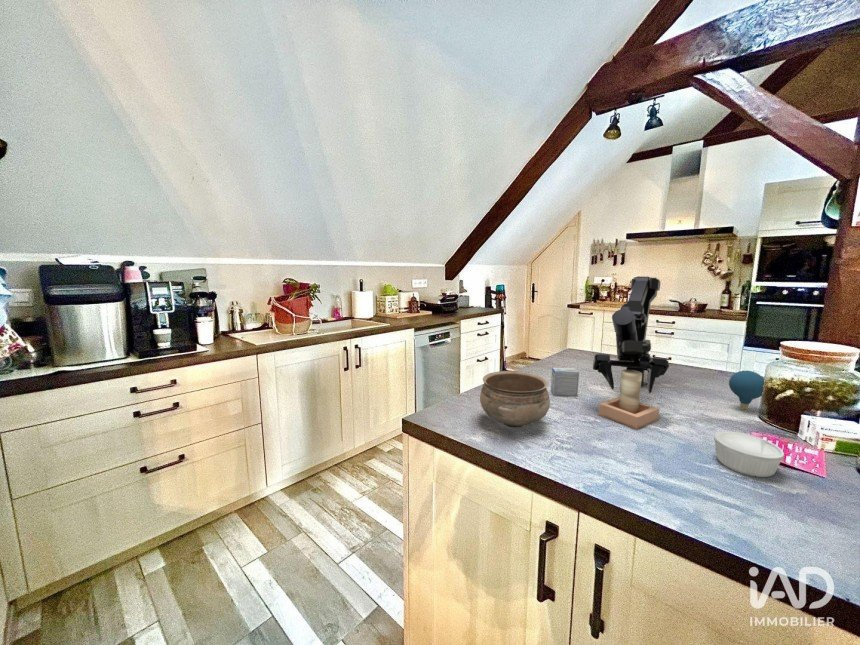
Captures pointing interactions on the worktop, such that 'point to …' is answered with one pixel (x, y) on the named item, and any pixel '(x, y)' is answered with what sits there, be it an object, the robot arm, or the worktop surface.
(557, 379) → the medicine box
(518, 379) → the cooking pot
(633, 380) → the vase
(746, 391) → the light bulb
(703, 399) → the worktop surface
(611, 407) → the tray
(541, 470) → the worktop surface
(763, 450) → the ramekin
